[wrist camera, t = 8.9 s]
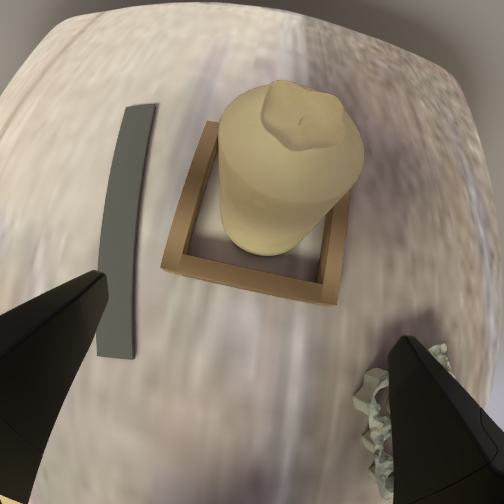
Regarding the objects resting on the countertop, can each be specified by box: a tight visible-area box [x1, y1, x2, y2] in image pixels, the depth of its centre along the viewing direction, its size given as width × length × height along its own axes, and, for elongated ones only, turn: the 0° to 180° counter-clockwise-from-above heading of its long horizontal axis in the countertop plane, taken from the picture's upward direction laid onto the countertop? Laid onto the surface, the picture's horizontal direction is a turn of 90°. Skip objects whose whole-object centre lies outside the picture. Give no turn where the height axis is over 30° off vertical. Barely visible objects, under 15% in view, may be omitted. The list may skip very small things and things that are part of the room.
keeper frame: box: [161, 121, 350, 306], centre depth 17 cm, size 10×10×2 cm
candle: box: [218, 80, 364, 256], centre depth 13 cm, size 6×6×10 cm
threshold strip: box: [96, 104, 156, 360], centre depth 17 cm, size 18×2×1 cm, turn 1°
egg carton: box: [352, 342, 455, 500], centre depth 14 cm, size 11×8×4 cm
